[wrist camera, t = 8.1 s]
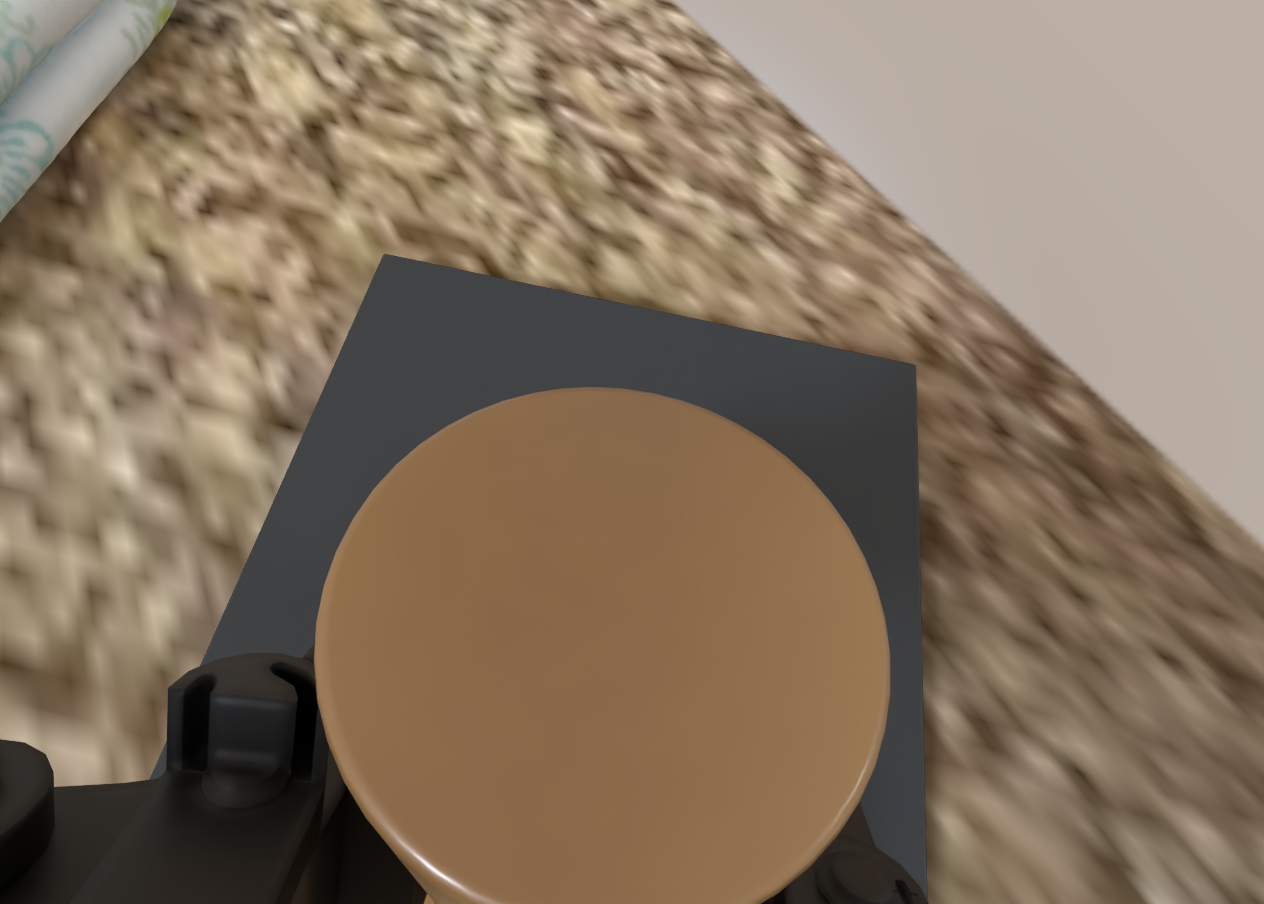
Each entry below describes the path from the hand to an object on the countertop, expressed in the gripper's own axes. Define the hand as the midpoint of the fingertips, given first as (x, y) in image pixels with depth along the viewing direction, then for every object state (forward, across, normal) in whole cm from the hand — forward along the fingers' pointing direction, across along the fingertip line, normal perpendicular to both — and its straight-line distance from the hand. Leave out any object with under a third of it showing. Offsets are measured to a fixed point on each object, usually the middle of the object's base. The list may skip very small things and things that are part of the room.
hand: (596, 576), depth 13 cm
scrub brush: (-1, 0, -7) cm, 7 cm away
